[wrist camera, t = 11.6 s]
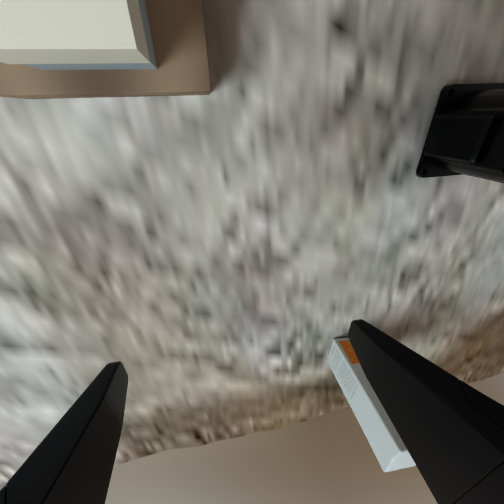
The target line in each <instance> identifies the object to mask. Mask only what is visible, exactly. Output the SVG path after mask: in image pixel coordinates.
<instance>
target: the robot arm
mask: <svg viewBox="0 0 504 504" xmlns="http://www.w3.org/2000/svg"><path fill="white" fill-rule="evenodd" d="M449 91H450V92H449ZM448 92H449V95H448ZM423 170H424V172H423ZM461 174H466V175H470V176H475V177H479V178H483V179H487V180H492V181H496V182H500V183H504V83H493V84H452V85H447V86H445V87H444V88H443V89H442V91H441V93H440V96H439V99H438V103H437V106H436V109H435V112H434V116H433V119H432V122H431V125H430V129H429V132H428V135H427V138H426V142H425V145H424V148H423V151H422V154H421V158H420V161H419V164H418V167H417V171H416V175H417V176H418V177H422V178H426V177H437V176H449V175H461ZM348 337H349V341H350V343H351V345H352V347H353V349H354V352H355V354H356V356H357V358H358V361H359V363H360V365H361V367H362V370H363V372H364V374H365V376H366V378H367V380H368V381H369V383H370V385H371V387H372V388H373V390H374V392H375V394H376V395H377V397H378V399H379V401H380V402H381V404H382V406H383V408H384V410H385V411H386V413H387V415H388V417H389V418H390V420H391V422H392V424H393V425H394V427H395V429H396V431H397V432H398V434H399V436H400V438H401V439H402V441H403V443H404V445H405V447H406V448H407V450H408V452H409V454H410V455H411V457H412V459H413V461H414V462H415V464H416V466H417V468H418V469H419V471H420V473H421V475H422V476H423V478H424V480H425V481H426V483H427V485H428V487H429V489H430V491H431V492H432V494H433V496H434V497H435V499H436V501H437V503H438V504H504V406H503V405H501V404H500V403H498V402H496V401H494V400H493V399H491V398H489V397H487V396H486V395H484V394H482V393H481V392H479V391H477V390H476V389H474V388H472V387H471V386H469V385H468V384H466V383H464V382H463V381H461V380H458V378H456V377H455V376H453V375H451V374H450V373H448V372H447V371H445V370H443V369H442V368H440V367H438V366H437V365H435V364H434V363H432V362H430V361H429V360H427V359H426V358H424V357H422V356H421V355H419V354H417V353H416V352H414V351H413V350H411V349H409V348H408V347H406V346H405V345H403V344H401V343H400V342H398V341H396V340H395V339H393V338H392V337H390V336H388V335H387V334H385V333H384V332H382V331H380V330H379V329H377V328H376V327H374V326H372V325H371V324H369V323H367V322H366V321H364V320H362V319H359V320H353V321H352V322H351V325H350V329H349V333H348ZM127 386H128V375H127V372H126V370H125V368H124V366H123V364H122V362H120V361H118V362H112V363H109V364H107V365H106V366H105V367H104V368H103V370H102V371H101V372H100V373H99V374H98V376H97V377H96V378H95V379H94V380H93V381H92V383H91V384H90V385H89V386H88V387H87V389H86V390H85V391H84V392H83V393H82V395H81V396H80V397H79V398H78V399H77V400H76V402H75V403H74V404H73V405H72V406H71V408H70V409H69V410H68V411H67V412H66V413H65V415H64V416H63V417H62V418H61V419H60V421H59V422H58V423H57V424H56V425H55V427H54V428H53V429H52V430H51V431H50V432H49V434H48V435H47V436H46V437H45V438H44V440H43V441H42V442H41V443H40V444H39V445H38V447H37V448H36V449H35V450H34V451H33V453H32V454H31V455H30V456H29V457H28V459H27V460H26V461H25V462H24V463H23V464H22V466H21V467H20V468H19V469H18V470H17V472H16V473H15V474H14V475H13V476H12V477H11V479H10V480H9V481H8V482H7V484H6V486H4V487H3V488H2V489H1V490H0V504H105V500H106V495H107V491H108V487H109V483H110V478H111V474H112V470H113V465H114V461H115V457H116V452H117V448H118V444H119V439H120V435H121V430H122V425H123V418H124V410H125V402H126V394H127Z"/></svg>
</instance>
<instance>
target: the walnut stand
mask: <svg viewBox="0 0 504 504" xmlns="http://www.w3.org/2000/svg"><path fill="white" fill-rule="evenodd" d="M145 4H146V10H147V15H148V21H149V26H150V32H151V37H152V43H153V48H154V54H155V59H156V65H157V69H139V70H41V69H38V68H34V67H30V66H27V65H23V64H6V63H2V62H0V97H12V98H24V99H50V98H93V97H135V96H178V95H209V93H210V92H211V89H210V79H209V68H208V58H207V48H206V38H205V27H204V17H203V7H202V0H145Z"/></svg>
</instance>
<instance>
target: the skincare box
mask: <svg viewBox="0 0 504 504" xmlns="http://www.w3.org/2000/svg"><path fill="white" fill-rule="evenodd" d="M327 361H328V363H329V365H330V367H331V369H332V371H333V373H334V375H335V377H336V379H337V381H338V383H339V385H340V387H341V389H342V391H343V393H344V395H345V396H346V398H347V400H348V402H349V404H350V406H351V408H352V410H353V412H354V414H355V416H356V418H357V420H358V422H359V424H360V426H361V428H362V429H363V431H364V433H365V435H366V437H367V439H368V441H369V443H370V445H371V447H372V449H373V451H374V453H375V455H376V457H377V459H378V461H379V463H380V465H381V467H382V469H383V471H384V472H389V471H393V470H398V469H401V468H408V467H412V466H416V464H415V462H414V461H413V459H412V457H411V455H410V454H409V452H408V450H407V448H406V447H405V445H404V443H403V441H402V439H401V438H400V436H399V434H398V432H397V431H396V429H395V427H394V425H393V424H392V422H391V420H390V418H389V417H388V415H387V413H386V411H385V410H384V408H383V406H382V404H381V402H380V401H379V399H378V397H377V395H376V394H375V392H374V390H373V388H372V387H371V385H370V383H369V381H368V380H367V378H366V376H365V374H364V372H363V370H362V367H361V365H360V363H359V361H358V358H357V356H356V354H355V352H354V349H353V347H352V345H351V343H350V341H349V337H348V338H336V339H333V342H332V345H331V348H330V351H329V354H328V357H327Z"/></svg>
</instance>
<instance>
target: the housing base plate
mask: <svg viewBox="0 0 504 504" xmlns="http://www.w3.org/2000/svg"><path fill="white" fill-rule="evenodd" d="M138 3H139V8H140V13H141V18H142V23H143V28H144V33H145V38H146V44H147V49H148V54H149V59H150V63H107V64H23V65H27V66H30V67H34V68H38V69H41V70H139V69H157V65H156V59H155V54H154V48H153V43H152V37H151V32H150V26H149V21H148V15H147V10H146V4H145V0H138Z"/></svg>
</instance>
